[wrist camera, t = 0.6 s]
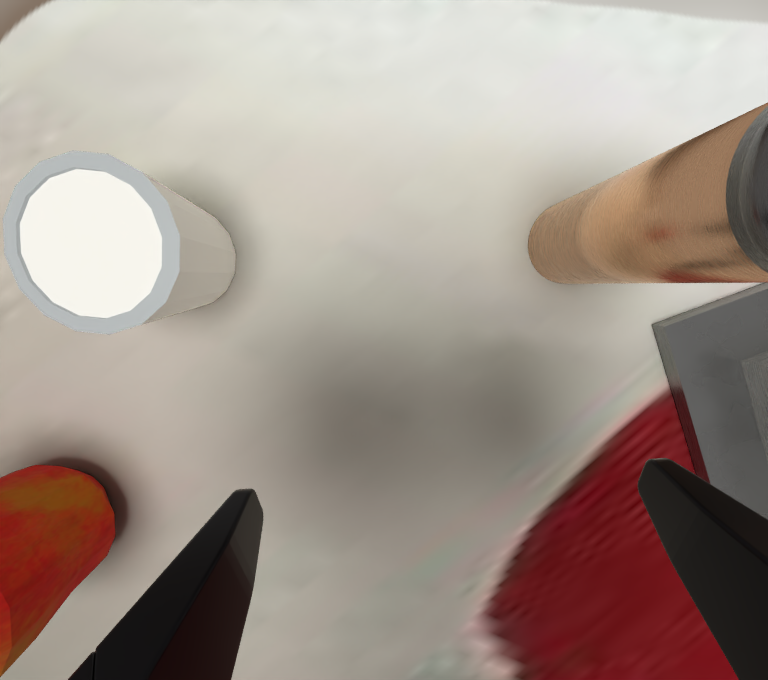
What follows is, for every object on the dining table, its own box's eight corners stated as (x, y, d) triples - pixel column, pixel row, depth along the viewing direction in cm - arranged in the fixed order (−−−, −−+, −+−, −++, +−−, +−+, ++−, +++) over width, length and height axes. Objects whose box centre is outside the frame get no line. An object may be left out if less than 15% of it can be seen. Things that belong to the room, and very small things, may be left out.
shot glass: (101, 266, 21) (-36, 258, 15) (171, 167, 21) (61, 107, 14) (200, 343, 22) (114, 370, 15) (272, 249, 21) (215, 231, 14)
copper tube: (619, 266, 21) (1061, 232, 7) (542, 296, 21) (823, 318, 8) (595, 187, 20) (1027, -16, 7) (516, 219, 21) (770, 88, 7)
